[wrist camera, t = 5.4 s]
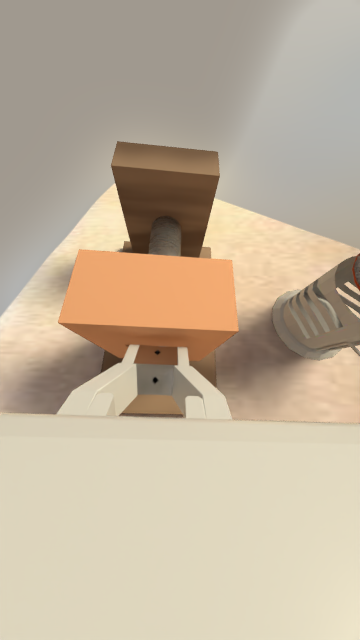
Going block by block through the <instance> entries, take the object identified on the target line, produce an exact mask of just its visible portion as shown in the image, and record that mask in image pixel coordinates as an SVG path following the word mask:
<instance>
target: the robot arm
mask: <svg viewBox="0 0 360 640" xmlns="http://www.w3.org/2000/svg"><path fill="white" fill-rule="evenodd" d="M137 394H138V395H169V396H172V397H173V399H174V400H175V402H176V403H177V405H178V407H179V408H180V410H181V412H182V413H183V418H166V417H130V416H119V415H120V414H121V413H122V412H123V411H124V409H125V408H126V407H127V406H128V405H129V404H130V403H131V402H132V401H133V400H134V399H135V398H136V397H137ZM0 640H360V423H336V422H302V421H267V420H232V417H231V413H230V410H229V407H228V404H227V401H226V398H225V396H224V395H223V394H222V393H221V392H220V391H219V390H218V389H216V388H215V387H214V386H213V385H212V384H211V383H210V382H209V381H208V380H207V379H205V378H204V377H203V376H202V375H201V374H200V373H199V372H198V371H197V370H196V369H195V368H193V367H192V366H189V358H188V349H187V347H163V346H151V345H136V344H130V345H129V347H128V349H127V351H126V354H125V356H124V358H123V360H122V362H121V363H118V364H116V365H114V366H113V367H111V368H109V369H108V370H106V371H104V372H103V373H101V374H99V375H98V376H96V377H94V378H93V379H91V380H89V381H88V382H86V383H84V384H83V385H81V386H79V387H78V388H76V389H74V390H73V391H72V392H71V394H70V395H69V397H68V398H67V399H66V401H65V402H64V404H63V405H62V407H61V408H60V410H59V411H58V412H57V414H26V413H0Z"/></svg>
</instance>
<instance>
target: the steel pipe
mask: <svg viewBox="0 0 360 640" xmlns="http://www.w3.org/2000/svg"><path fill="white" fill-rule="evenodd" d="M180 253H181V226H180V224H179V222H178V221H177V220H176V219H174V218H172V217H169V216H161V217H158V218H156V219H155V220H154V221H153V223H152V227H151V236H150V245H149V254H152V255H166V256H180ZM163 347H166V346H163Z"/></svg>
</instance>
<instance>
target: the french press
mask: <svg viewBox="0 0 360 640" xmlns="http://www.w3.org/2000/svg"><path fill="white" fill-rule="evenodd" d="M348 281H349V282H350V283H351V284H352V285H354V286H355V287H356V288H358V289H359V291H360V254H358V255H357V256H355V257H351V258H348V259H346V260H344V261H343V262H341V263H340V264H338V265H337V266H336V267H334V268H333V269H331V270H330V271H328V272H327V273H325V274H324V275H323V276H321V277H320V278H318V279H317V280H316V281H314V282H313V283H311V284H310V285H309V286H307V287H306V288H304V289H303V290H294V291H288V292H286V293H284V294H283V295H282V296H280V297H279V298H278V299H277V301H276V303H275V305H274V307H273V308H272V322H273V324H274V327H275V329H276V332H277V334H278V336H279V337H280V339H281V340H282V341H283V342H284V343H285V344H286V346H287V347H288V348H289V349H291V350H292V351H294V352H296V353H297V354H299V355H301V356H302V357H305V358H309V359H314V360H323V359H328V358H332V357H334V356H335V355H336V354H337V353H338V352H339V351H340V350H341V349H342V348H347V347H351V348H352V349H353V350H354V351H355V352H356V353H357V354H358V355H359V356H360V351H359V350H358V349H357V348H356V347H355V346H357V345H360V319H359V318H358V317H357V316H356V315H355V314H353V313H352V311H351V310H350V309H349V308H348V307H347V306H346V305H348V306H349V307H351V308H353V309H354V310H355V311H357V312H358V313H359V314H360V307H359V306H357V305H356V304H354V303H353V302H351V301H349V300H348V299H346V298H345V297H343V296H342V295H340V294H339V293H338V292H337V290H336V288H337V287H338V288H340V289H341V290H342V291H344V292H345V293H346V294H348V295H349V296H351V297H353V298H354V299H356V300H357V301H359V302H360V295H358V294H357V293H355V292H354V291H352V290H350V289H349V288H348V287H347V286H345V285H344V283H346V282H348ZM345 304H346V305H345Z"/></svg>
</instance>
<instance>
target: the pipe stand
mask: <svg viewBox="0 0 360 640" xmlns="http://www.w3.org/2000/svg"><path fill="white" fill-rule="evenodd" d="M111 167H112V171H113V175H114V179H115V183H116V187H117V191H118V195H119V199H120V203H121V207H122V211H123V214H124V218H125V222H126V226H127V230H128V234H129V238H130V242H127V241H124V246H123V253H137V254H149V245H150V236H151V227H152V223H153V221H154V220H155V219H156V218H158V217H161V216H169V217H172V218H174V219H176V220H177V221H178V222H179V224H180V226H181V253H180V257H194V258H209V259H211V248H209V247H202V245H203V241H204V237H205V233H206V229H207V225H208V221H209V217H210V213H211V209H212V205H213V201H214V197H215V193H216V189H217V185H218V181H219V177H220V173H219V160H218V152H215V151H205V150H195V149H185V148H176V147H166V146H156V145H147V144H137V143H127V142H117V145H116V148H115V152H114V156H113V160H112V163H111ZM122 360H123V358H118V357H116V356H115V355H113V354H111V353H110V352H108V351H106V350H105V352H104V358H103V363H102V369H101V373H103V372H104V371H106V370H108V369H109V368H111V367H113V366H114V365H116V364H118V363H121V362H122ZM189 366H192V367H193V368H195V369H196V370H197V371H198V372H199V373H200V374H201V375H202V376H203V377H204V378H205V379H207V380H208V381H209V382H210V383H211V384H212V385H213V386H214V387H215V388H216V365H215V350H213V351H212V352H211V353H209V354H208V355H207V356H206V357H204V358H203V359H202V360H200V361H189ZM122 413H145V414H183V413H182V412H181V410H180V408H179V407H178V405H177V403H176V402H175V400H174V399H173V397H172V396H169V395H138V394H137V397H136V398H135V399H134V400H133V401H132V402H131V403H130V404H129V405H128V406H127V407H126V408H125V409H124V411H123V412H122Z"/></svg>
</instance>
